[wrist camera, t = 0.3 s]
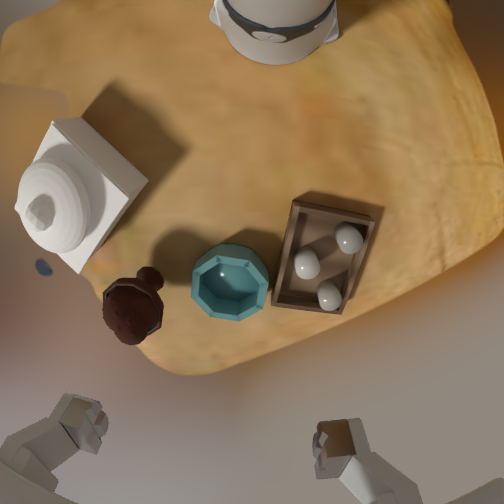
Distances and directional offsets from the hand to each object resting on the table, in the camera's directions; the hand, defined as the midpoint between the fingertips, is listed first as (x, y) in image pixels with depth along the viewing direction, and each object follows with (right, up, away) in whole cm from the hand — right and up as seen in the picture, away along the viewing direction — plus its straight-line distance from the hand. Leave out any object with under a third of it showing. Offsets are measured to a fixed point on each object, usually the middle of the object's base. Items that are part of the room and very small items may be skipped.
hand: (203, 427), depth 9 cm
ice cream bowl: (-17, +1, +43) cm, 46 cm away
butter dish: (-27, +18, +35) cm, 48 cm away
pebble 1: (+10, +5, +39) cm, 41 cm away
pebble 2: (+15, 0, +42) cm, 44 cm away
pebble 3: (+17, +9, +37) cm, 41 cm away
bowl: (-2, +2, +42) cm, 42 cm away
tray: (+13, +5, +40) cm, 42 cm away
